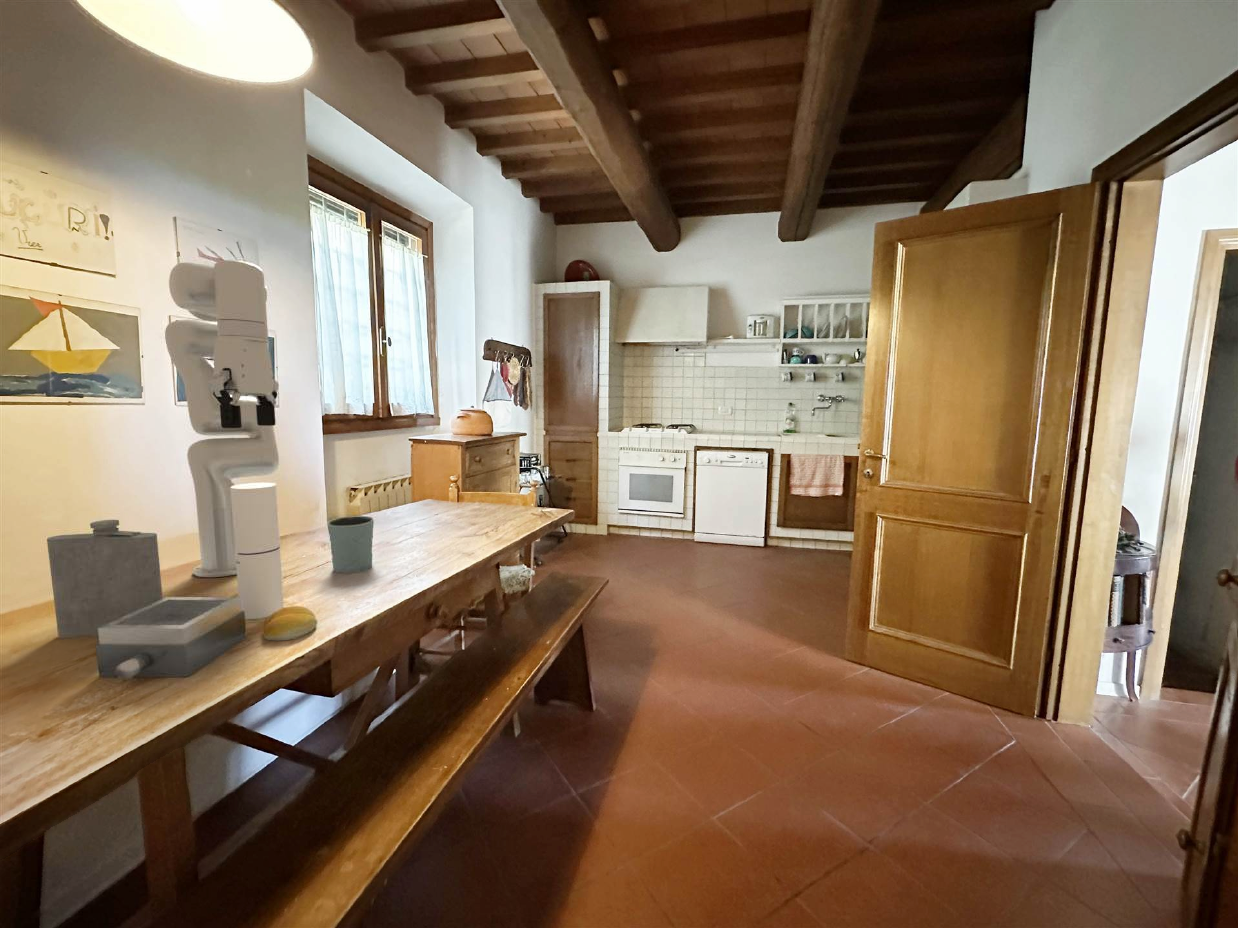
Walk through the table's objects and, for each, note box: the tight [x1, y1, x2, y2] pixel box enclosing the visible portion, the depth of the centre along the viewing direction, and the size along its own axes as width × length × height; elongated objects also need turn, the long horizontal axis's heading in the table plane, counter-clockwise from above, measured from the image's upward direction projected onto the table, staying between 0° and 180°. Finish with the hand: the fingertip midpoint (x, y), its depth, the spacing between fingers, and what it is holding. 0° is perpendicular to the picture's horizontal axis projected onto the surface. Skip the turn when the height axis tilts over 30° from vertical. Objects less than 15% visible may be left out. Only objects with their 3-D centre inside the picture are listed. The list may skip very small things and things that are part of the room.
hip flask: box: [46, 519, 164, 640], centre depth 93 cm, size 16×4×20 cm, turn 99°
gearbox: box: [95, 596, 247, 681], centre depth 84 cm, size 16×13×8 cm
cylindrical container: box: [230, 482, 285, 620], centre depth 102 cm, size 7×7×25 cm
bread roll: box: [262, 605, 318, 641], centre depth 95 cm, size 8×9×4 cm
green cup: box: [327, 515, 375, 574], centre depth 130 cm, size 10×10×12 cm
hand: (249, 426), depth 99 cm, fingers open, 9 cm apart
